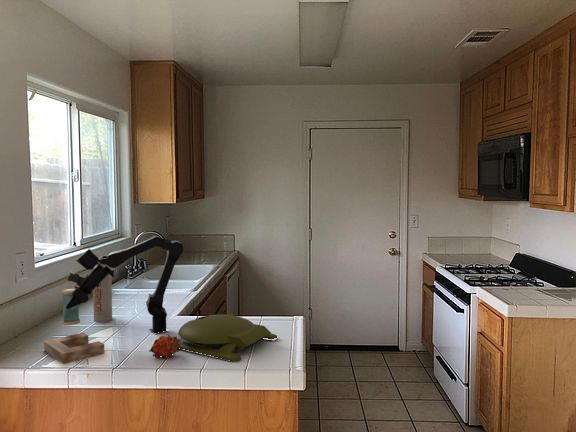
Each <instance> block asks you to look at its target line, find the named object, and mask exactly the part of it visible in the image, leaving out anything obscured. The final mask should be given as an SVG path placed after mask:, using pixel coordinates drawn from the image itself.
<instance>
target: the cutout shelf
mask: <svg viewBox="0 0 576 432" xmlns="http://www.w3.org/2000/svg"><path fill="white" fill-rule="evenodd" d="M43 350H44V351H45V352H46V353H48V354H49V355H50V356H52V357H53V358H54V359H56V360H57V361H58V362H60V363H61V364H68V363H72V361H73V362H76V361H80V360H84V359H87V358H88V359H89V358H92V357H96V356H99V355H103V354H105V344H104V343H103V342H101V341H99V340H98V341H93V342H89V335H88V334H87V333H85V332H80V333H75V334H71V335H66V336H61V337H57V338H53V339H48V340H43Z"/></svg>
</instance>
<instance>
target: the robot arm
mask: <svg viewBox="0 0 576 432" xmlns="http://www.w3.org/2000/svg"><path fill="white" fill-rule="evenodd" d="M155 247H159V248H161V249H163V250H166V256H165V257H166V258H165V261H164V262H165V263H164V264H163V267H162V271H161V273H160V276H159V278H158V281H157V285H156V287H155V290H154V291H153V293H152V294H151V293H148V296H147V297H148V298H147V300H146V301H145V303H146V309H147V312H148V314H150V315H151V316H152V320H151V322H152V327H151V328H150V329H149V331H150V330H151V331H152V332H151V331H150V332H151V333H153V332H154V333H158V332H163V331H166V328H167V318H168V317H167V316H168V313H167V311H166V308H165V307H164V306H163V304H164V297H165V292H166V289H167V288H168V285H169V281H170V279H171V277H172V273H173V270H174V268H175V265H176V263H177V261H178V260H179V259H180V257H181V255H182V253H183V252H184V245H183V244H182V243H181V242H180V241H179V240H175V239H174V240H170V239H166V238H164V237H161V236H158V235H154V236H152V237H150V238H148V239H146V240H144V241H141V242H139V243H137V244H135V245H132V246H129V247H127V248H125V249H119V250H115V251H114V250H113V251H111V252H109V253H108V254H107V255H102V256H98V255H97V254H95V252H93V251H92V249H91V248H88V249H87V250H85V252H83V253H81V255H80V256H79V257H78V258H77V259H76V260H75V261H76V262H77V263H78V264H79V265H80V266H82V267H83V269H85V270H86V271H88V270H89V271H90V270H91V272H90V273H87V274H85V275H84V274H81V273H79V272H76V271H72V270H71V271H70V273H69V274H68V278H67V281H68V282H72V283H74V284H75V286H74V289H75V290H74V291H73V292H72V294H73V297H72V299H71V300H70V301H69V303H68V304H67V306H66V307H65V308H66V309H70V308H72V307H74V306H76V305H78V306H79V305H80V304H83V303H84V304H86V303H87V302H88V301H89V299H90V295H91V294H93V290H94V289H95V288H96V287H98V286H99V284H100V283H101V282H102V281H103V280H104V279H105V278H106V277H107V276H108V275H109V274H110V275H111V278H114V277H115V269H114V268H118V267H119V266H121V265H123V263H125V262H127V261H128V260H129V259H131V258H132V257H136V256H137V255H139V254H142V253H144V252H146V251H149V250H150V249H151V250H152V249H153V248H155ZM100 263H101V264H100ZM97 264H98V266H97V267H96V268H95V269H94V267H95V266H96V265H97ZM102 264H103V265H105V266H103V265H102ZM106 265H108V266H109V267H110V268H109V267H108V266H106ZM154 333H153V334H154ZM163 333H164V332H163ZM158 334H159V333H158Z"/></svg>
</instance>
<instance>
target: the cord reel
mask: <svg viewBox="0 0 576 432" xmlns="http://www.w3.org/2000/svg"><path fill="white" fill-rule="evenodd" d="M74 290H75V288H67V289H62V290H61V291H60V292H61V295H62V309H63V311H62V312H63V313H62V314H63V315H62V316H63V320H62V324H63V325H65V326H71V325H73V326H74V325H77V324H80V323H81V318H80V312H79V311H80V310H79V309H80V307H79V305H76V306H74V307H72V308H70V309H66V308H65V307H66V306H67V304H68V303H69V301H70V300H71V299H72V297H73V294H72V292H73V291H74Z"/></svg>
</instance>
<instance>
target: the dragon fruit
mask: <svg viewBox="0 0 576 432" xmlns="http://www.w3.org/2000/svg"><path fill="white" fill-rule="evenodd" d="M180 343H181V340H180V338H178V337H177V336H176V335H175V336H174V335H173V336H172V335H170V334H166V336H163V335H161V336H159V338H157V339H155V340H154V342H153V344H152V346H151V347H150V349H149V351H148V352H149V353H153V354H152V357H154V358H159V357H160V356H164V357H165V358H166V359H169V358H170V357H173V356H172V354H173V355H174V354H176V353H179V352H180V351H181V350H179V348H180Z"/></svg>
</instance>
